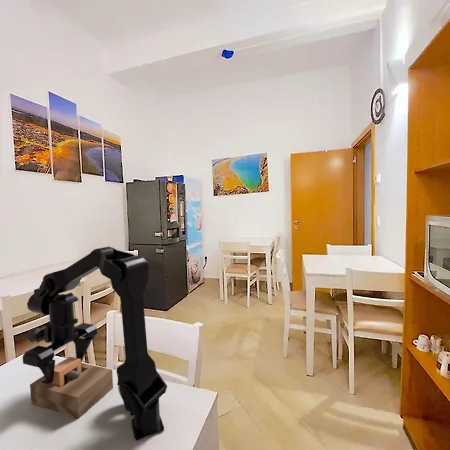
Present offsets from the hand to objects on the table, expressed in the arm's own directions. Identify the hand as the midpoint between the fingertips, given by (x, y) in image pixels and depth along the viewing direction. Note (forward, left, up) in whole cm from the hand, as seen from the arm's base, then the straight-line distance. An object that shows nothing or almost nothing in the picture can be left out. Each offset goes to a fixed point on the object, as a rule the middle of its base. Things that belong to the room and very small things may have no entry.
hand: (65, 372), depth 78 cm
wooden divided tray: (-2, -2, -6) cm, 7 cm away
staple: (0, 0, -4) cm, 4 cm away
